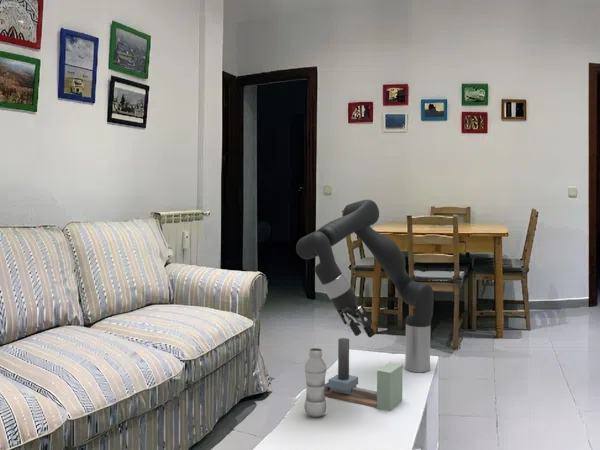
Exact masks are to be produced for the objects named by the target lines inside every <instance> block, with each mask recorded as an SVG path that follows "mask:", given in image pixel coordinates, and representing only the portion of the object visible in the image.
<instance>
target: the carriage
mask: <svg viewBox="0 0 600 450" xmlns="http://www.w3.org/2000/svg"><path fill="white" fill-rule="evenodd" d="M337 342H338V343H337V347H338V349H337V350H338V352H337V357H338V358H337V362H338V363H337V364H338V366H337V374H336V375H334V376H333V377H331V378H329V379H328V380H327V381H328V382H327V383H328V387H331V390H334V391H339V392H343V393H348V394H350V393H351V388H353V387H357V386H358V385H359V376H356V375H351V374H350V339H349V338H346V337H340V338H338V340H337Z"/></svg>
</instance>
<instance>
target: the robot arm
mask: <svg viewBox="0 0 600 450" xmlns="http://www.w3.org/2000/svg"><path fill="white" fill-rule="evenodd" d="M379 218H380V209H379V206H378V205H377V203H376V202H375V201H374V200H372V199H363V200H359V201H356V202H352V203H349V204H347V205H346V206H345V207H343V216H341V217H338V218H335V219H333V220H331V221H329V222H327V223H326V224H324V225H323V226H321V227H319V228H318V229H317V230H315V231H313V232H310V233H309V234H307V235H305V236H303V237H300V238H299V240H297V243H296V245H295V251H296V254H297V255H298V256H299V258H301V259H302V260H303V259H304V260H311V259H314V258H316V257H318V260H319V262H318V263H317V264H316V266H315V267H314V272H315V274H316V276H317V278H318V280H319V281H320V283H321V284H322V287H323V289H324V292H325V293H326V295H327V297H328V298H329V300H330V302H331V304H332V306H333V307H334V308H335V310H336V311H337V313H338V315H339V317H340V319H341V321H342V323H343V324H344V325H346V326H348V327H349V328H350V329H351V331H352V333H353V335H354V336H356V337H358V336H359V335H361V334H362V330H361V329H360V327H359V325H360V326H361V327H362V329H363V330H364V332H365V333H366V336H367V338H372V337H373V336H375V333H376V332H375V331H374V329H373V328H372V325H371V323H372V322H373V321H372V318H371V317H370V315H369V313H368V312H367V310H366V309H365V307H364V305H363V304H361V305H359V306H358V305H357V304H356V301H357V299H358V297H357V295H356V293H355V291H354V290H353V288H352V286H351V284H350V283H349V281H348V279H347V278H346V277H345V275H344V274H343V272H342V271H341V269H340V267H339V265H338V264H337V263H336V262H337V261H336V259H335V255H334V252H333V249H332V247H333V246H335V245H336V244H338V243H340V242H341V241H342V240H344V239H346V238H347V237H349V236H350V235H352V234H353V233H354V234H355V235H356V236H357V237H358V238H359V240H361V242H363V244H364V245H365V246H366V248H367V249H368V250H369V252H370V253H371V254H372V256H373V257H374V258H375V260H376V262H377V263H378V264H379V266H380V268H382V270H383V271H384V272H385V274H386V275H387V276H388V278H389V279H390V280H391V281H392V283H393V284H394V287H395V288H396V290H397V292H398V295H400V297H401V299H402V300H403V302H404V303H406V304H407V305H409V306H411V307H412V306H413V307H414V313H413V314H410V315H409V314H408V315H407V316H406V318H405V354H404V355H405V359H404V360H405V362H404V363H405V366H404V368H405V370H407V371H410V372H412V373H428V372H429V371H430V370H431V325H432V324H431V322H432V319H433V315H434V303H435V301H434V300H435V297H434V296H435V294H434V289H433V287H432V286H431V285H430V284H429V283H426V282H425V283H424V282H418V281H414V279H412V278H411V276H410V275H409V273H408V272H407V270H406V257H405V255H404V253H403V252H402V250H401V249H400V247H399V246H398V245H397V243H396V242H394V241H393V240H392V239H391V238H390V237H387V236H385V235H384V234H382V233H380V232H378V231H376V230H375V229H374V228H372V225H375V224H377V222H378V221H379ZM358 324H359V325H358Z"/></svg>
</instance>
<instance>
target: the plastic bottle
mask: <svg viewBox="0 0 600 450" xmlns="http://www.w3.org/2000/svg"><path fill="white" fill-rule="evenodd" d="M308 356H309V358H308V359H307V361H306V362H305V364H304V373H305V375H304V376H305V383H306V387H305V388H306V393H305V399H304V400H305V401H304V411H305V414H306V415H307V416H309V417H313V418H318V417H323V416H325V415H326V413H327V409H328V408H327V405H328V404H327V400H326V396H325V389H324V388H325V386H324V385H325V384H326V381H325V380H326V375H327V366H326V365H327V364H326V363H325V361H324V360H323V358H322V357H323V349H322V348H319V347H315V348H314V347H313V348H310V349H309V351H308Z"/></svg>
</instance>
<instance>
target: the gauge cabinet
mask: <svg viewBox="0 0 600 450" xmlns="http://www.w3.org/2000/svg"><path fill="white" fill-rule="evenodd" d="M403 368H404V366H403V364H401V363H396V362H391V361H390V362H388V363H386V364H385V365H383V366H382V367H380V368H379V369H378V370H377V371H376V391H377V408H376V409H378V410H383V411H386V412H391V411H392V410H393V409H394V408H396V407H397V406H399V405H400V404H401V403H402V402H403V379H404V378H403V377H404V376H403V373H404V372H403V371H404V370H403Z"/></svg>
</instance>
